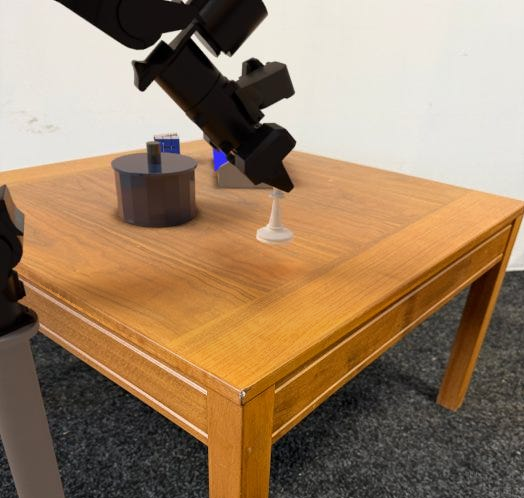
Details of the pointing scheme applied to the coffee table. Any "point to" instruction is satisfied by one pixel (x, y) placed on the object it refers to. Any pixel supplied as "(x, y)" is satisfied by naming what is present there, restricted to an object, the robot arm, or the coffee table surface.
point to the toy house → (231, 174)
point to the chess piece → (275, 224)
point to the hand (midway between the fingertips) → (287, 187)
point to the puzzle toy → (168, 142)
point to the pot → (156, 199)
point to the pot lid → (153, 163)
